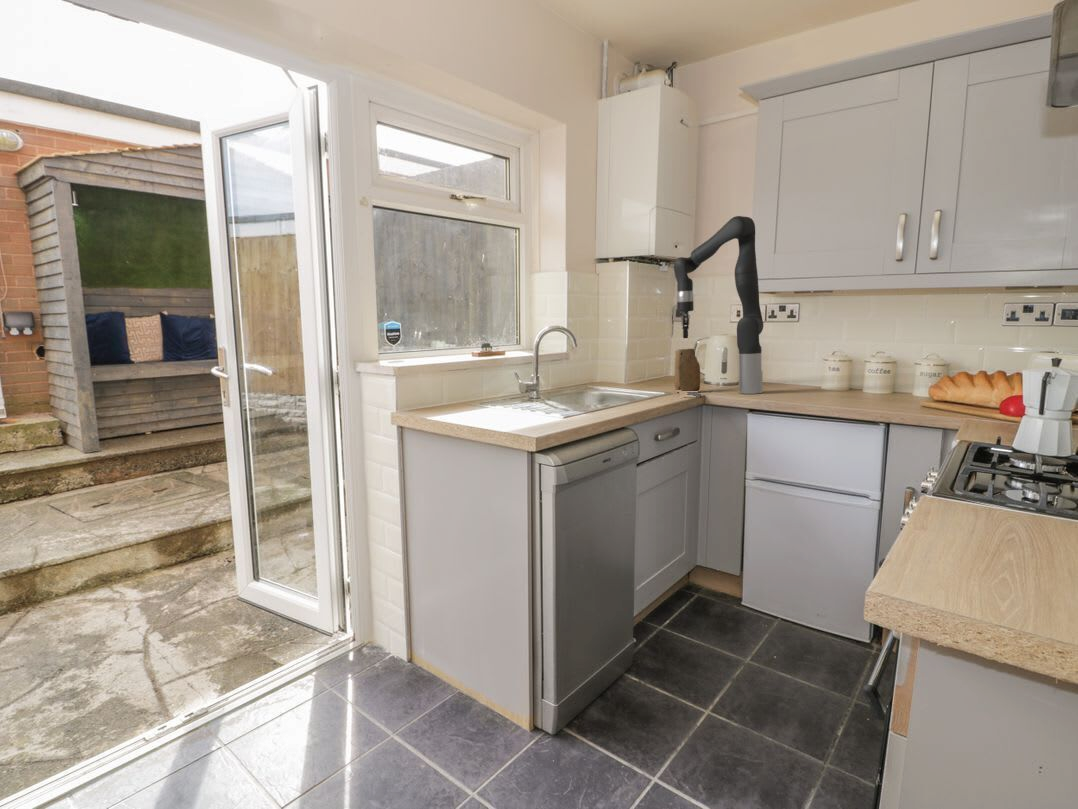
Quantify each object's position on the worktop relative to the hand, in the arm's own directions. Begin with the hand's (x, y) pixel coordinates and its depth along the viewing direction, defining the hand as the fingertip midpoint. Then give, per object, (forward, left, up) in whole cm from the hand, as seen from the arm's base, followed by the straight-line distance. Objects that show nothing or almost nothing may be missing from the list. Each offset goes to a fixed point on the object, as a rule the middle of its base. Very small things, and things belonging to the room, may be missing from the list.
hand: (685, 338), depth 276 cm
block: (0, +12, -25) cm, 28 cm away
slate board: (0, +26, -24) cm, 36 cm away
